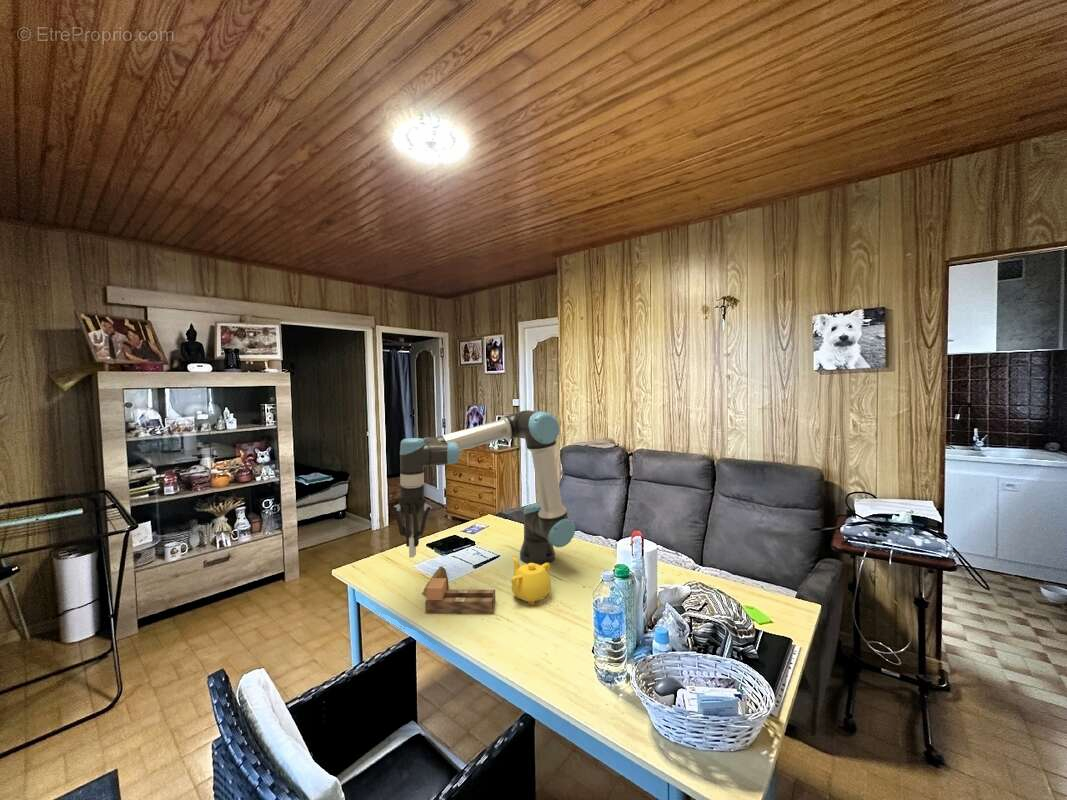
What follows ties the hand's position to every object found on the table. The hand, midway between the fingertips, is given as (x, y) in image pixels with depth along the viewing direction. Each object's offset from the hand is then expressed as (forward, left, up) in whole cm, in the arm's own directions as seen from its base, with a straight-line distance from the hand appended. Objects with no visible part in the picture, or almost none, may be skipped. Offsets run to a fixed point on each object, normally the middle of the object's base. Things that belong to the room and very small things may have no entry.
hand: (412, 555), depth 139 cm
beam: (-16, 0, -18) cm, 24 cm away
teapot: (-38, -8, -18) cm, 43 cm away
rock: (-6, -6, -18) cm, 20 cm away
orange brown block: (-8, 0, -16) cm, 18 cm away
